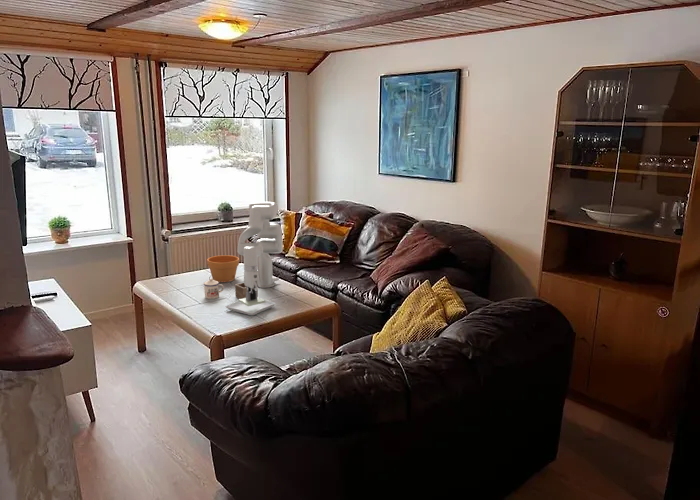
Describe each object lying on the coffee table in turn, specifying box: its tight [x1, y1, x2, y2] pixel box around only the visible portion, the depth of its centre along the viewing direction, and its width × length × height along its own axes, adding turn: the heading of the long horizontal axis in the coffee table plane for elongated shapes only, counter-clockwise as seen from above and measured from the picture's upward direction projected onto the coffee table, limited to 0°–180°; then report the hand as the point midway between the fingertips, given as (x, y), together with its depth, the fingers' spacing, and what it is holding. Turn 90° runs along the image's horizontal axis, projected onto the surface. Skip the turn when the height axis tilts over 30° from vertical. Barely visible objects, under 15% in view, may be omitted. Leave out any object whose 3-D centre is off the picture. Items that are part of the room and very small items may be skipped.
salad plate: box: [225, 299, 277, 316], centre depth 315 cm, size 21×21×3 cm
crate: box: [234, 282, 259, 299], centre depth 335 cm, size 10×10×8 cm
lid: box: [237, 291, 266, 306], centre depth 311 cm, size 11×11×6 cm
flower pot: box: [206, 254, 240, 283], centre depth 370 cm, size 21×21×15 cm
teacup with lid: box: [203, 278, 224, 300], centre depth 335 cm, size 12×9×12 cm
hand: (251, 298), depth 311 cm, fingers closed on lid, 2 cm apart
